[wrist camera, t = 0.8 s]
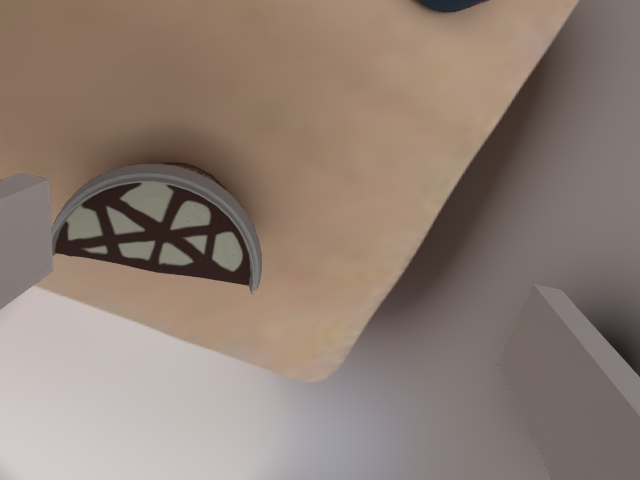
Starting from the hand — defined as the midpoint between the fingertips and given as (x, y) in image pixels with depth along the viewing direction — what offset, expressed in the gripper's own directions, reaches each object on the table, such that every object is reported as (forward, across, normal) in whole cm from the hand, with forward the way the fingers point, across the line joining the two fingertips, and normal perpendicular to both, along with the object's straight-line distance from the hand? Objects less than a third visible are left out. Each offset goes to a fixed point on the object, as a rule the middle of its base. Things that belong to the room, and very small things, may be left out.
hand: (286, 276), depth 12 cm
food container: (+21, -10, -6) cm, 24 cm away
